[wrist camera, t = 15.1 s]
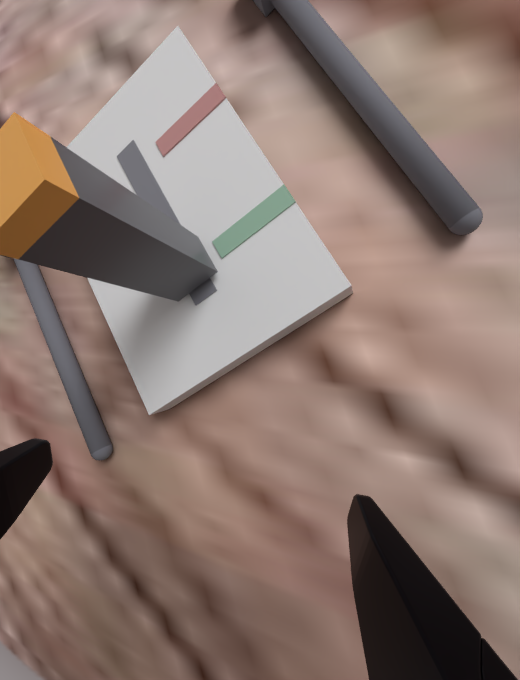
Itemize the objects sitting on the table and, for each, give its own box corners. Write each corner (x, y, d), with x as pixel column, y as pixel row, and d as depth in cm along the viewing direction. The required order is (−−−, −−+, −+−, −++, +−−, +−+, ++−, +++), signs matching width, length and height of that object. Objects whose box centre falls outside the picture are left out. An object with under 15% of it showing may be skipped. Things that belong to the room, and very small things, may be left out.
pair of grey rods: (493, 221, 15) (512, 201, 13) (102, 462, 22) (77, 472, 20) (273, -44, 19) (263, -88, 17) (10, 233, 27) (-17, 224, 25)
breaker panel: (353, 293, 17) (351, 285, 15) (169, 409, 20) (148, 415, 18) (195, 55, 21) (176, 24, 19) (65, 188, 24) (39, 174, 22)
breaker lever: (217, 271, 17) (44, 179, 8) (178, 301, 18) (-21, 249, 9) (198, 236, 17) (14, 112, 8) (160, 267, 18) (-45, 184, 9)
